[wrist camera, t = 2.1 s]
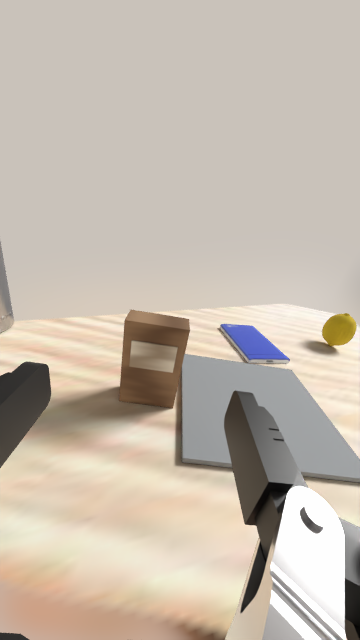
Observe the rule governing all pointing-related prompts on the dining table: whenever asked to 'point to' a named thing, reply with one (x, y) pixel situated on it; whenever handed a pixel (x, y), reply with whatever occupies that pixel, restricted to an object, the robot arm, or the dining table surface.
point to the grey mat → (278, 399)
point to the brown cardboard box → (152, 358)
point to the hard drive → (253, 344)
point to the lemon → (339, 329)
